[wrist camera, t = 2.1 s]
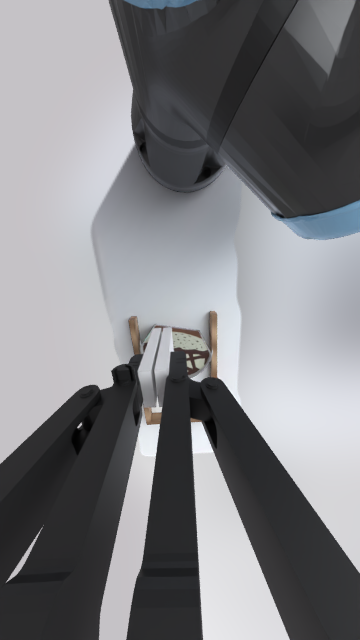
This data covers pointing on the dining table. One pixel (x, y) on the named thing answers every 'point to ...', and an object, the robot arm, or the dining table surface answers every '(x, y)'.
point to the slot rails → (156, 417)
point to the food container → (187, 348)
